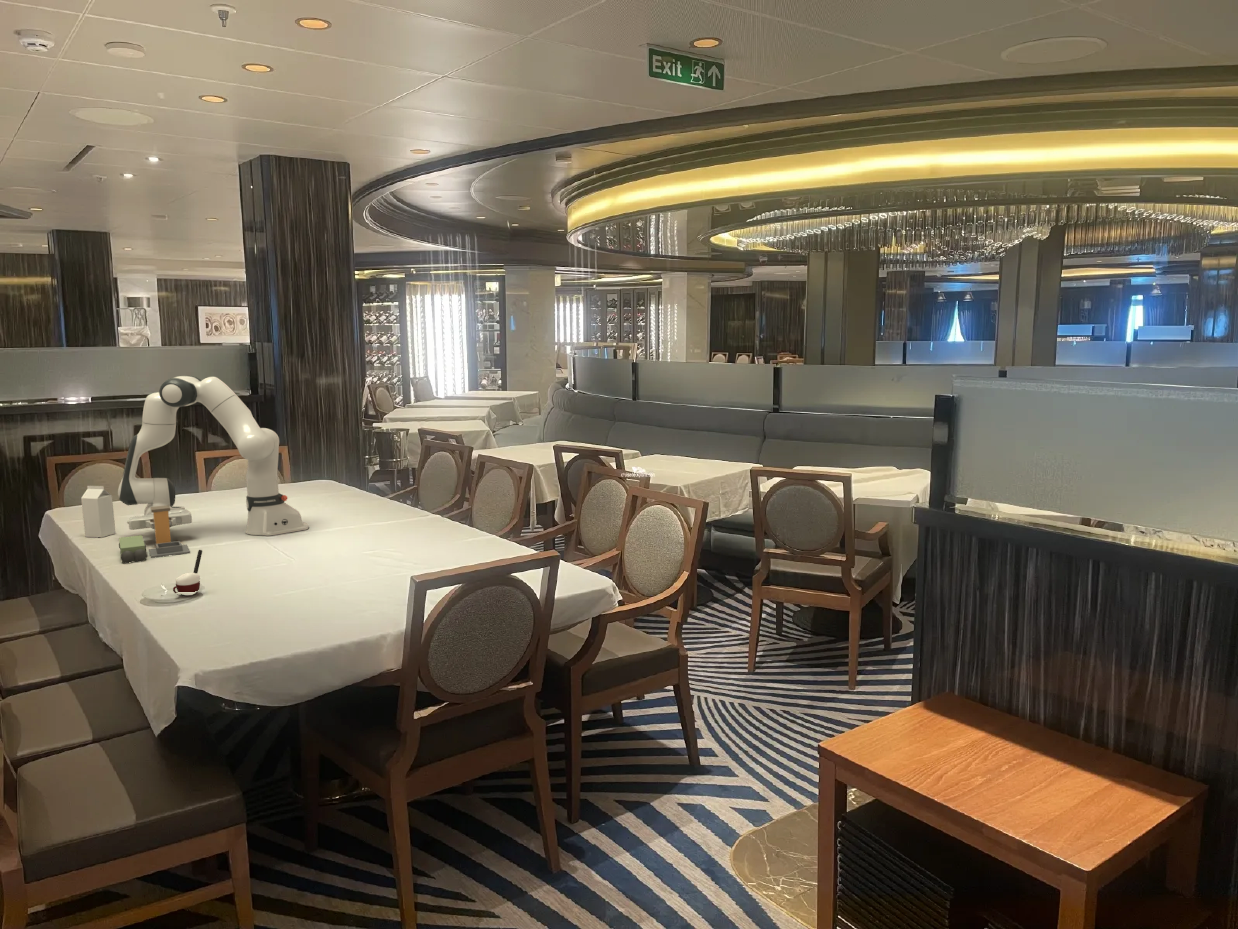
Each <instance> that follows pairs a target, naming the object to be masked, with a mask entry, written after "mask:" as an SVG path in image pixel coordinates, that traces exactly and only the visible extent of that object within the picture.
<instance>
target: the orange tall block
mask: <svg viewBox="0 0 1238 929" xmlns="http://www.w3.org/2000/svg"><path fill="white" fill-rule="evenodd" d="M150 508H151V512H152V513H153V516H154V523H155V529H154V536H155V538H154V539H155V545H156V544H159V543H167V542H172V540H171V539H172V538H171V527H170V526H169V515H168V511H170V507H169V505H166V506H156V507H150Z"/></svg>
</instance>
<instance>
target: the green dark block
mask: <svg viewBox="0 0 1238 929" xmlns="http://www.w3.org/2000/svg"><path fill="white" fill-rule="evenodd" d="M118 541H119V542H118V547H119V551H120V561H121V564H130V563H129V562H131V563H133V562H132V561H135V562H138V561H141V562H144V561H146V560H147V557H148V553H147V545H146V541H145V540H144V538H143V535H142V534H141V535H140V534H139V535H131V536H122V537H119V538H118ZM123 562H124V563H123Z"/></svg>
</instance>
